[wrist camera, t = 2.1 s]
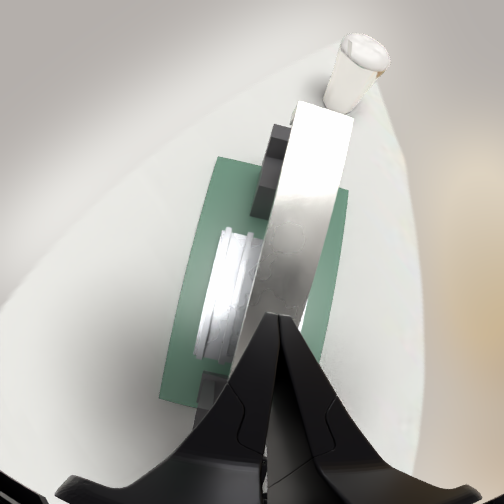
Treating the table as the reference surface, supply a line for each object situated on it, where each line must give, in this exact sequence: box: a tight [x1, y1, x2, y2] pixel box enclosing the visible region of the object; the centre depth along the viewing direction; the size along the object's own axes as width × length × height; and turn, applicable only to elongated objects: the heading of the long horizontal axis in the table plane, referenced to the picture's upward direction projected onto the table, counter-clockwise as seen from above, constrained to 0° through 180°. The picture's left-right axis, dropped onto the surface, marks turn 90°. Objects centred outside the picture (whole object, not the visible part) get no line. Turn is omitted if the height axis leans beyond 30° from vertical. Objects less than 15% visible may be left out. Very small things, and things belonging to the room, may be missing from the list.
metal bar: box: [228, 101, 354, 380], centre depth 13 cm, size 17×2×2 cm, turn 168°
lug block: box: [250, 124, 291, 221], centre depth 20 cm, size 4×4×7 cm
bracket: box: [192, 370, 267, 446], centre depth 17 cm, size 2×5×8 cm, turn 77°
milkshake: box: [323, 33, 391, 115], centre depth 23 cm, size 5×5×10 cm
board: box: [159, 156, 349, 408], centre depth 23 cm, size 20×12×1 cm, turn 167°
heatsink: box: [193, 227, 308, 365], centre depth 21 cm, size 9×7×3 cm
